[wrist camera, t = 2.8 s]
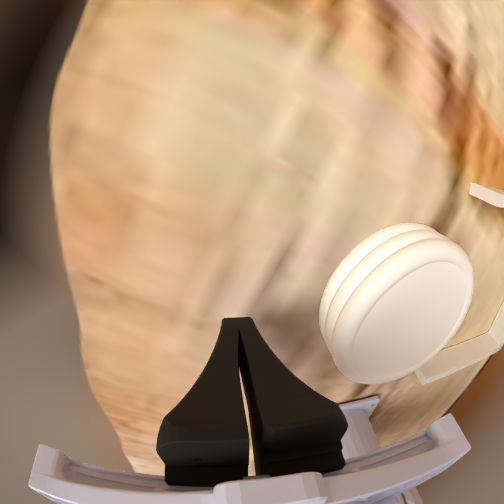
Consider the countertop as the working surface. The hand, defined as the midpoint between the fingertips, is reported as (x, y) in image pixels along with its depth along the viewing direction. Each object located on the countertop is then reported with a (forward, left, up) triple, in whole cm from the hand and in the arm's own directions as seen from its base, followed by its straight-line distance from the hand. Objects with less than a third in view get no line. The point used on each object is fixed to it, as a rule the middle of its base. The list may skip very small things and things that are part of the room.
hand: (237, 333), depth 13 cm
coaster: (0, -10, -2) cm, 10 cm away
